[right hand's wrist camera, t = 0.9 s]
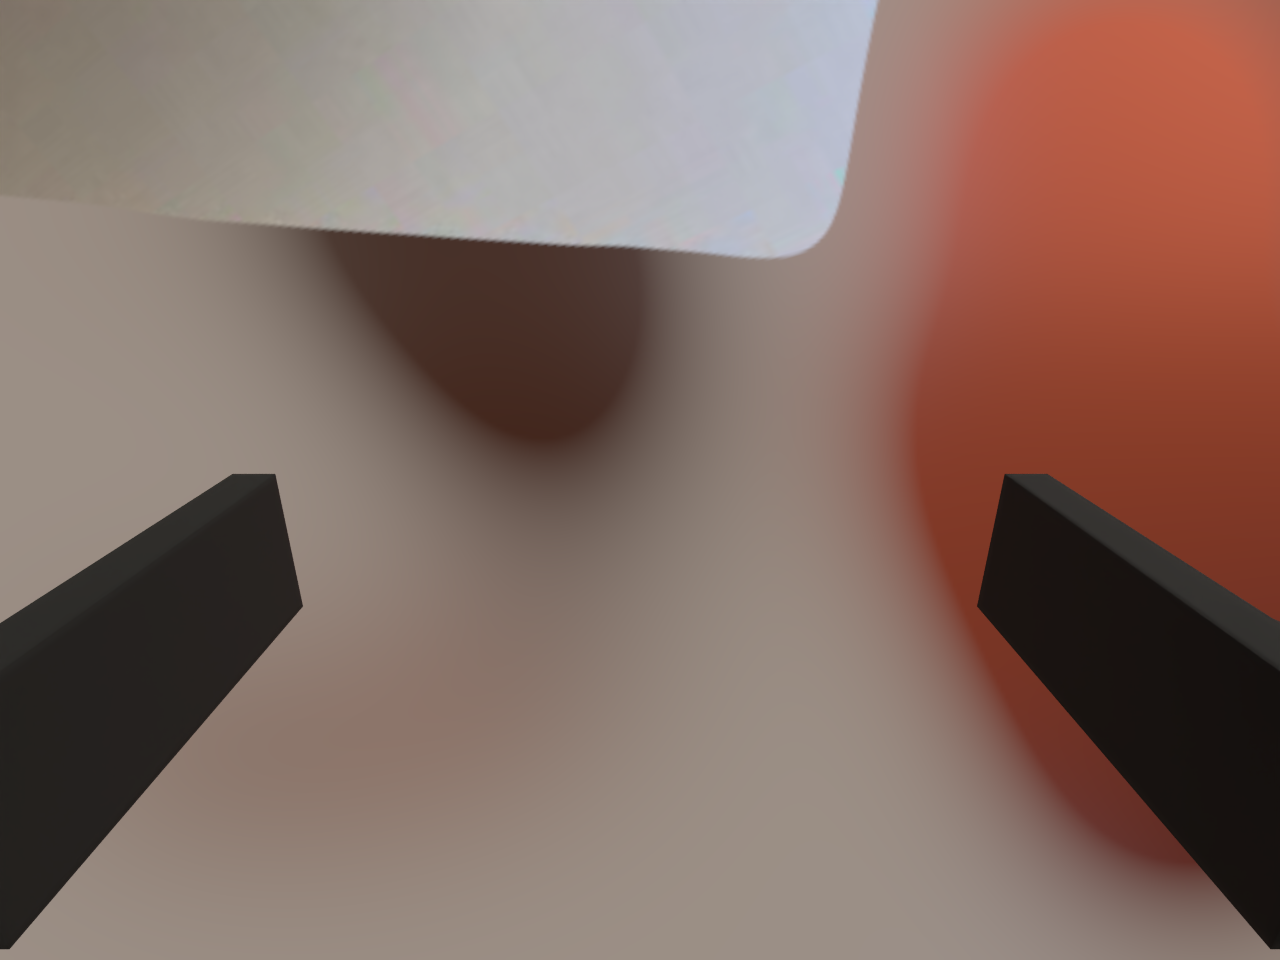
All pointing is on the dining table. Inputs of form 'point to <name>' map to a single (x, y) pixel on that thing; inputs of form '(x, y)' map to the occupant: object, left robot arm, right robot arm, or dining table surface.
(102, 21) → the dining table surface
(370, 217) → the dining table surface
